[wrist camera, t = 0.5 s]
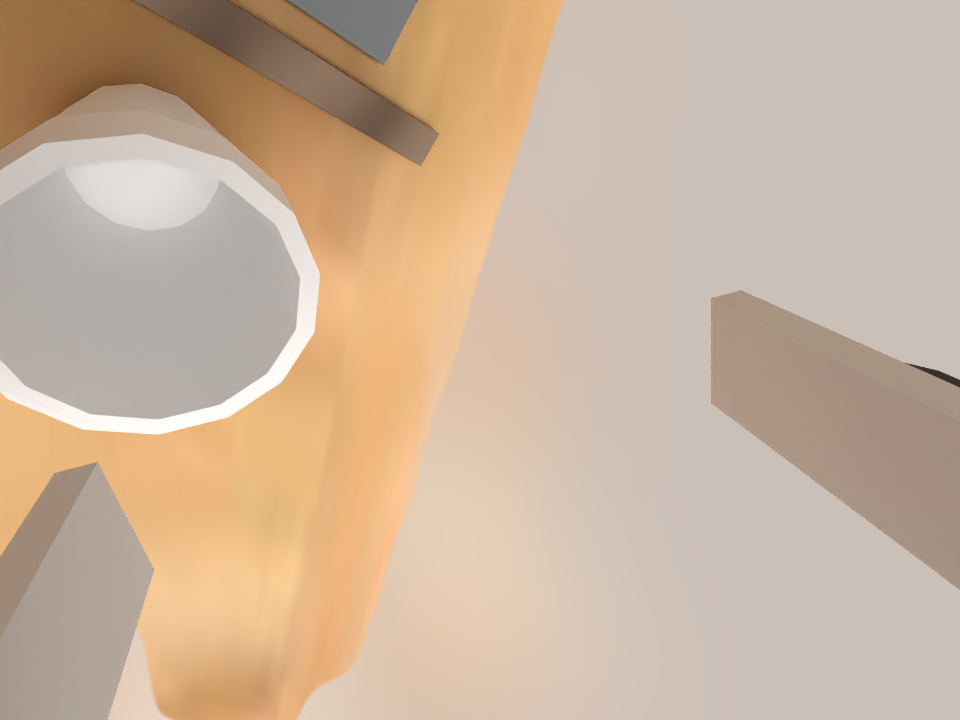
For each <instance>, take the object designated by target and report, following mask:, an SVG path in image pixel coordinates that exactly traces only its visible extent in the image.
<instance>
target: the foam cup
mask: <svg viewBox="0 0 960 720" xmlns="http://www.w3.org/2000/svg"><path fill="white" fill-rule="evenodd" d="M319 280H320V273H319V270H318V268H317V266H316V263H315V261H314V259H313V256H312V254H311V252H310V250H309V247H308V245H307V243H306V240H305V238H304V236H303V233H302V231H301V229H300V226H299V224H298V222H297V219H296V217H295V215H294V212H293V211H292V209H291V207H290V205H289V203H288V201H287V199H286V197H285V195H284V193H283V191H282V189H281V187H280V185H279V184H278V183H276V182H275V181H274V180H273V179H272V178H271V177H270V176H268V175H267V174H266V173H265V172H264V171H263V170H262V169H260V168H259V167H258V166H257V165H256V164H255V163H254V162H252V161H251V160H250V159H249V158H248V157H247V156H246V155H244V154H243V153H242V152H241V151H240V150H239V149H238V148H236V147H235V146H234V145H233V144H232V143H231V142H230V141H228V140H227V139H226V138H225V137H224V136H221V135H220V134H219V133H218V131H217V130H216V129H215V128H214V127H213V126H212V125H211V124H209V123H208V122H207V121H206V120H205V119H204V118H203V117H201V116H200V115H199V114H198V113H197V112H196V111H195V110H193V109H192V108H191V107H190V106H189V105H188V104H187V103H185V102H184V101H183V100H182V99H181V98H180V97H179V96H176V95H173V94H170V93H167V92H164V91H161V90H159V89H156V88H153V87H150V86H147V85H144V84H142V83H139V84H125V85H110V86H102V87H100V88H98V89H97V90H95V91H94V92H92V93H90V94H89V95H87V96H86V97H84V98H82V99H81V100H79V101H77V102H76V103H74V104H73V105H71V106H69V107H68V108H67V109H65V110H64V111H63V112H61V113H60V114H59V115H57V116H56V117H52V118H50V119H49V120H47V121H45V122H44V123H42V124H41V125H39V126H37V127H36V128H34V129H32V130H31V131H29V132H28V133H26V134H24V135H23V136H21V137H20V138H18V139H16V140H15V141H13V142H12V143H10V144H8V145H7V146H5V147H4V148H2V149H0V392H1V393H2V394H3V395H4V396H5V397H6V398H7V399H9V400H12V401H14V402H17V403H19V404H21V405H24V406H26V407H29V408H31V409H34V410H36V411H38V412H41V413H43V414H46V415H48V416H51V417H53V418H55V419H58V420H60V421H63V422H65V423H68V424H70V425H73V426H75V427H77V428H80V429H84V430H99V431H115V432H130V433H145V434H163V433H167V432H171V431H175V430H179V429H183V428H187V427H191V426H195V425H199V424H203V423H207V422H211V421H215V420H219V419H223V418H227V417H229V416H231V415H232V414H234V413H235V412H237V411H238V410H240V409H241V408H243V407H244V406H246V405H247V404H249V403H250V402H252V401H253V400H255V399H257V398H258V397H260V396H261V395H263V394H264V393H266V392H267V391H269V390H270V389H272V388H273V387H275V386H276V385H278V384H279V383H281V382H282V381H283V379H284V378H285V376H286V375H287V373H288V372H289V370H290V369H291V367H292V365H293V364H294V362H295V361H296V359H297V358H298V356H299V355H300V353H301V352H302V350H303V349H304V347H305V346H306V344H307V343H308V341H309V340H310V338H311V337H312V335H313V334H314V329H315V319H316V310H317V300H318V290H319Z"/></svg>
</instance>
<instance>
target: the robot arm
mask: <svg viewBox="0 0 960 720" xmlns="http://www.w3.org/2000/svg"><path fill="white" fill-rule="evenodd" d="M711 403H712V404H714V405H715V406H716V407H717V408H719V409H720V410H721V411H723V412H724V413H725V414H727V415H728V416H729V417H731V418H732V419H733V420H735V421H736V422H737V423H739V424H740V425H741V426H742V427H744V428H745V429H746V430H748V431H749V432H750V433H752V434H753V435H754V436H756V437H757V438H759V439H760V440H761V441H762V442H764V443H765V444H767V445H768V446H769V447H770V448H772V449H773V450H774V451H776V452H777V453H778V454H780V455H781V456H782V457H784V458H785V459H786V460H788V461H789V462H790V463H792V464H793V465H795V466H796V467H797V468H798V469H800V470H801V471H802V472H804V473H805V474H806V475H808V476H809V477H810V478H812V479H813V480H814V481H816V482H817V483H818V484H820V485H821V486H822V487H824V488H825V489H826V490H828V491H829V492H830V493H832V494H833V495H834V496H836V497H837V498H838V499H840V500H841V501H842V502H844V503H845V504H846V505H848V506H849V507H850V508H852V509H853V510H854V511H856V512H857V513H858V514H860V515H861V516H862V517H864V518H865V519H866V520H868V521H869V522H870V523H872V524H873V525H874V526H876V527H877V528H878V529H880V530H881V531H882V532H884V533H885V534H886V535H888V536H889V537H890V538H892V539H893V540H894V541H896V542H897V543H898V544H900V545H901V546H902V547H903V548H905V549H906V550H907V551H909V552H910V553H911V554H913V555H914V556H916V557H917V558H918V559H919V560H921V561H922V562H924V563H925V564H926V565H927V566H929V567H931V568H932V569H933V570H934V571H936V572H937V573H938V574H939V575H941V576H942V577H943V578H945V579H946V580H947V581H949V582H950V583H951V584H953V585H954V586H955V587H957V588H958V589H959V590H960V380H958V379H956V378H954V377H952V376H950V375H947V374H945V373H943V372H940V371H937V370H933V369H929V368H925V367H920V366H916V365H912V364H907V363H903V362H901V361H899V360H897V359H894V358H892V357H890V356H888V355H885V354H883V353H881V352H879V351H876V350H874V349H872V348H870V347H867V346H865V345H863V344H861V343H858V342H856V341H854V340H852V339H849V338H847V337H845V336H843V335H840V334H838V333H836V332H834V331H831V330H829V329H827V328H825V327H822V326H820V325H818V324H816V323H813V322H811V321H809V320H807V319H804V318H802V317H800V316H798V315H795V314H793V313H791V312H789V311H786V310H784V309H782V308H780V307H777V306H775V305H773V304H771V303H768V302H766V301H764V300H761V299H759V298H757V297H755V296H752V295H750V294H748V293H746V292H744V291H741V290H740V291H737V292H733V293H730V294H726V295H722V296H719V297H714V298H711ZM153 571H154V569H153V567H152V565H151V563H150V561H149V559H148V557H147V555H146V553H145V551H144V550H143V548H142V546H141V544H140V542H139V540H138V538H137V536H136V534H135V532H134V531H133V529H132V527H131V525H130V523H129V521H128V519H127V517H126V515H125V513H124V511H123V510H122V508H121V506H120V504H119V502H118V500H117V498H116V496H115V494H114V492H113V490H112V489H111V487H110V485H109V483H108V481H107V479H106V477H105V475H104V473H103V471H102V469H101V468H100V466H99V464H98V462H96V463H92V464H88V465H84V466H81V467H77V468H73V469H69V470H66V471H62V472H58V473H55V474H54V475H53V477H52V478H51V480H50V481H49V483H48V484H47V486H46V487H45V489H44V490H43V492H42V494H41V495H40V497H39V498H38V500H37V501H36V503H35V504H34V506H33V507H32V509H31V510H30V512H29V514H28V515H27V517H26V518H25V520H24V521H23V523H22V524H21V526H20V527H19V529H18V530H17V532H16V534H15V535H14V537H13V538H12V540H11V541H10V543H9V544H8V546H7V547H6V549H5V550H4V552H3V554H2V555H1V557H0V720H107V719H108V716H109V713H110V710H111V707H112V703H113V700H114V697H115V694H116V690H117V687H118V684H119V681H120V678H121V674H122V671H123V668H124V665H125V661H126V658H127V655H128V652H129V649H130V645H131V642H132V639H133V636H134V632H135V629H136V626H137V623H138V619H139V616H140V613H141V610H142V607H143V603H144V600H145V597H146V594H147V590H148V587H149V584H150V581H151V577H152V574H153Z"/></svg>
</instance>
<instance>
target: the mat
mask: <svg viewBox="0 0 960 720" xmlns="http://www.w3.org/2000/svg"><path fill="white" fill-rule="evenodd" d="M288 1H290V2H291V3H293V4H294V5H296V6H297V7H299V8H300V9H302V10H303V11H305V12H306V13H308V14H309V15H311V16H312V17H313V18H315V19H316V20H318V21H319V22H321V23H322V24H324V25H325V26H327V27H328V28H330V29H331V30H333V31H334V32H336V33H337V34H339V35H340V36H342V37H343V38H345V39H346V40H348V41H349V42H351V43H352V44H354V45H355V46H357V47H358V48H360V49H361V50H362V51H364V52H365V53H367V54H368V55H370V56H371V57H373V58H374V59H376V60H377V61H379V62H380V63H382V64H383V65H384V64H385V62H386V60H387V58H388V56H389V54H390V52H391V50H392V48H393V47H394V45H395V43H396V41H397V39H398V37H399V35H400V33H401V31H402V29H403V27H404V25H405V24H406V22H407V20H408V18H409V16H410V14H411V12H412V10H413V8H414V6H415V4H416V2H417V1H418V0H288Z"/></svg>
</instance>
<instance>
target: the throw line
mask: <svg viewBox="0 0 960 720" xmlns="http://www.w3.org/2000/svg"><path fill="white" fill-rule="evenodd" d="M134 1H136V2H138V3H139V4H141V5H143V6H145V7H146V8H148V9H150V10H152V11H153V12H155V13H157V14H158V15H160V16H162V17H164V18H165V19H167V20H169V21H171V22H172V23H174V24H176V25H178V26H179V27H181V28H183V29H184V30H186V31H188V32H190V33H191V34H193V35H195V36H197V37H198V38H200V39H202V40H203V41H205V42H207V43H209V44H210V45H212V46H214V47H216V48H217V49H219V50H221V51H223V52H224V53H226V54H228V55H229V56H231V57H233V58H235V59H236V60H238V61H240V62H242V63H243V64H245V65H247V66H249V67H250V68H252V69H254V70H255V71H257V72H259V73H261V74H262V75H264V76H266V77H268V78H269V79H271V80H273V81H274V82H276V83H278V84H280V85H281V86H283V87H285V88H287V89H288V90H290V91H292V92H294V93H295V94H297V95H299V96H300V97H302V98H304V99H306V100H307V101H309V102H311V103H313V104H314V105H316V106H318V107H320V108H321V109H323V110H325V111H326V112H328V113H330V114H332V115H333V116H335V117H337V118H339V119H340V120H342V121H344V122H345V123H347V124H349V125H351V126H352V127H354V128H356V129H358V130H359V131H361V132H363V133H365V134H366V135H368V136H370V137H371V138H373V139H375V140H377V141H378V142H380V143H382V144H384V145H385V146H387V147H389V148H391V149H392V150H394V151H396V152H397V153H399V154H401V155H403V156H404V157H406V158H408V159H410V160H411V161H413V162H415V163H416V164H418V165H420V166H421V165H422V163H423V161H424V159H425V158H426V156H427V154H428V152H429V151H430V149H431V147H432V145H433V144H434V142H435V140H436V138H437V137H438V135H439V134H438V133H437V132H436V131H435V130H433V129H432V128H430V127H429V126H427V125H426V124H424V123H423V122H421V121H419V120H418V119H416V118H415V117H413V116H412V115H410V114H408V113H407V112H405V111H404V110H402V109H400V108H399V107H397V106H396V105H394V104H393V103H391V102H389V101H388V100H386V99H385V98H383V97H382V96H380V95H378V94H377V93H375V92H374V91H372V90H370V89H369V88H367V87H366V86H364V85H363V84H361V83H359V82H358V81H356V80H355V79H353V78H352V77H350V76H348V75H347V74H345V73H344V72H342V71H340V70H339V69H337V68H336V67H334V66H333V65H331V64H329V63H328V62H326V61H325V60H323V59H322V58H320V57H318V56H317V55H315V54H314V53H312V52H311V51H309V50H307V49H306V48H304V47H303V46H301V45H299V44H298V43H296V42H295V41H293V40H292V39H290V38H288V37H287V36H285V35H284V34H282V33H281V32H279V31H277V30H276V29H274V28H273V27H271V26H269V25H268V24H266V23H265V22H263V21H262V20H260V19H258V18H257V17H255V16H254V15H252V14H251V13H249V12H247V11H246V10H244V9H243V8H241V7H239V6H238V5H236V4H235V3H233V2H232V1H230V0H134Z"/></svg>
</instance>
